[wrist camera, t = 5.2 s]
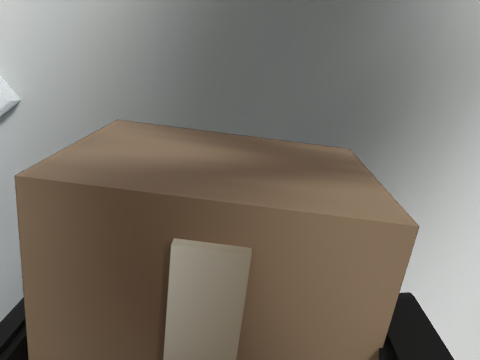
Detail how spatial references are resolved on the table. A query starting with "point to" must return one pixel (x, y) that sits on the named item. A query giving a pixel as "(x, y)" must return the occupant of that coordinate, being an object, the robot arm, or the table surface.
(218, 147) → the card box
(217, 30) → the table surface
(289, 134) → the table surface
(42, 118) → the table surface
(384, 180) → the table surface
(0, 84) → the external hard drive
